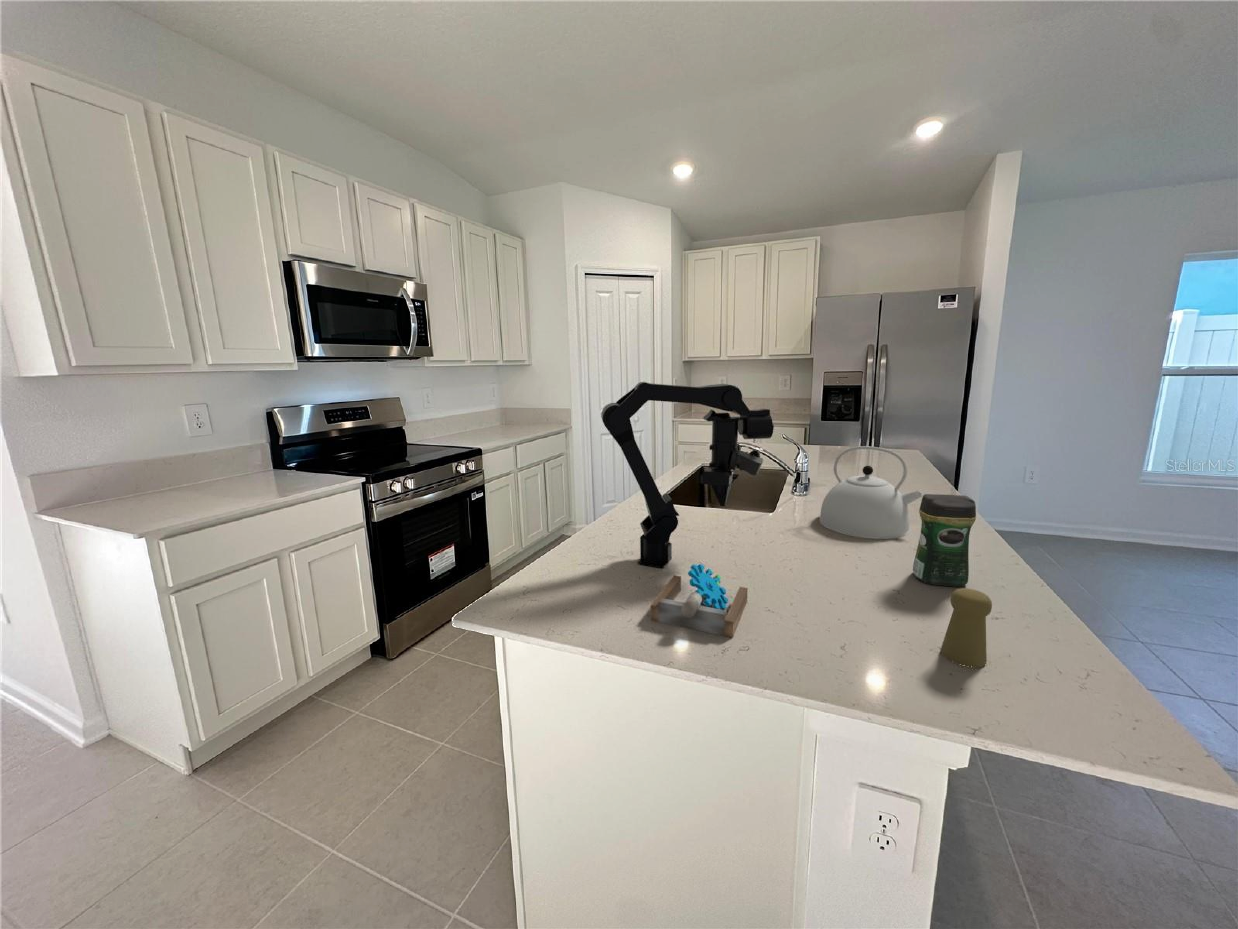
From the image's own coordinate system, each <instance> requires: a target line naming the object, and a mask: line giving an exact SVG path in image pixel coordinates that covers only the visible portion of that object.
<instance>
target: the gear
mask: <svg viewBox="0 0 1238 929" xmlns="http://www.w3.org/2000/svg"><path fill="white" fill-rule="evenodd" d="M705 568H706V567H705V565H703V564H701V563H699V564H692V565H691V566H690V570H689V571H688V572H687V574H688V575H687V576H689V577H690V578H691V579H689V585H690V586H691V587H694V588H696V590H694V592H697V593H699V594H700V595H701V596H702V597H705V599H704V600H702V604H704V605H705V607H710V606H711V608H715V609H720V610H726V609H727V605H726V604H727V603H729V598H728V597H727V596H725V595H726V594H727V589H726V588H725V587H722V586H721V583H722V581H721V579H722V577H721V575H720V574H716V575H715V576H713V577H711V576H712V575H714V571H712V569H710V568H707V569H706V570H705ZM712 604H713V605H712Z"/></svg>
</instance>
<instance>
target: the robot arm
mask: <svg viewBox="0 0 1238 929" xmlns="http://www.w3.org/2000/svg"><path fill="white" fill-rule="evenodd" d="M648 401H651V402H652V401H653V402H654V401H655V402H668V403H669V402H670V403H679V404H680V403H681V404H683V403H684V404H697V405H702V406H706V407H708V408H709V407H710V408H712V409H710V410H709V411H708V412H707V413H706V414H705V415H703V418H702V419H703V420H705V421H707V422H712V425H711V426H712V428H711V444H710V445H709V451H711V461H710V462H709V464H708V468H707V469H706V470H705V471H703V472H702V473H701V474H700V484H702V485H710V486H711V489H712V491H713V494H714V496H715V497H716V500H717V502H718V505H719V506H720V507H725V506H726V505H727V501H728V497H729V494H730V491H731V487H732V485H733V483H735V481H736V480H737V479H738V478H739V476H740V474H737V473H736V474H735V473H734V471H736V470H737V469H739V471H742V472H746V473H748V474H749V475H751V476H757V475H758V473H759V472H760V469H761V468H762V465H763V464H764V459H763V457H761V452H760V450H758V449H753V450H752V451H750V452H748V451H743V450H741V448H742V447H741V444H740V443H739V442H738V441H739V440H738V439H739V437H738V436H742V438H743V440H766V439H767V440H768V439H769V440H770V439H771V438H772V437H773V433H774V430H775V428H774V427H775V426H774V423H773V418H772V416H771V409H769V408H760V409H749V408H748V406H747V405H746V403H745V402H744V400H743V394H742V391H741V390H740V388H739V387H738V386H736V385H733V384H728V383H715V384H709V385H701V386H688V385H677V384H663V383H662V384H661V383H652V382H651V383H649V382H646V381H640V382H638V383H637V384H636V385H635V386H634V387H633V388H632V389H630V391H628V392H626V393H625V394H624V395H623V396H622V397H620V398H619V399H618V400H617V401H616V402H610V403H608V404H606V405H605V406H604V407H603V408H602V410H601V413H600V418H601V420H602V423H603V425H604V427H605V428H606V429H607V431H608V432H609V434H610V435H611V436H612V438H613V439H614V440H615V441H616V443H617V445H618V446H619V447H620V449H621V451H622V454H623V456H624V457H625V459H626V462H627V464H628V466H629V468H630V470H631V472H632V474H633V476H634V478H635V480H636V483H637V484H638V486H639V488H640V491H641V493H642V495H643V498H644V501H645V506H646V509H647V513H648V515H646V517H645V518H644V519H643V520H642V521H641V522H640V524H639V525H640V527H641V531H642V532H643V534H642V535H641V536H639V541H640V542H639V546H640V547H639V550H640V551H639V552H640V554H639V557H640V558H639V560H638V561H637V564H638V565H642V566H648V567H652V568H653V567H654V568H659V569H660V568H661V569H664V568H665V567H666V566H667V564H668V563H669V562H670V561H671V560H672V559H673V558H672V557H673V556H672V549H673V548H672V545H673V544H672V542H670V537H671V535H672V533H673V532H675V531H676V530H677V527H678V525H679V520H678V517H679V516H680V514H679V512H678V511H677V509H676V508H675V505H674V501H673V500H672V498H671V496H670V495H669V494H668V493H667V492H666V493H665V494H663V495H662V494H661V493H662V492H660V491H659V488H658V486H657V484H656V482H655V480H654V477H653V476H652V473H651V471H650V469H649V467H648V465H647V463H646V461H645V458H644V457H643V454H642V452H641V450H640V448H639V446H638V444H637V441H636V439H635V435H634V430H633V425H632V422H631V418H632V417H634V415H635V414H636V413H637V412H638V411H639V410H640V409H641V408H642V407H643V406H644V405H645V404H647V402H648ZM713 409H717V410H720V411H725V412H716V411H715V410H713ZM729 412H730V413H733V414H736V415H739V416H731V415H730V413H729Z"/></svg>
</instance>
